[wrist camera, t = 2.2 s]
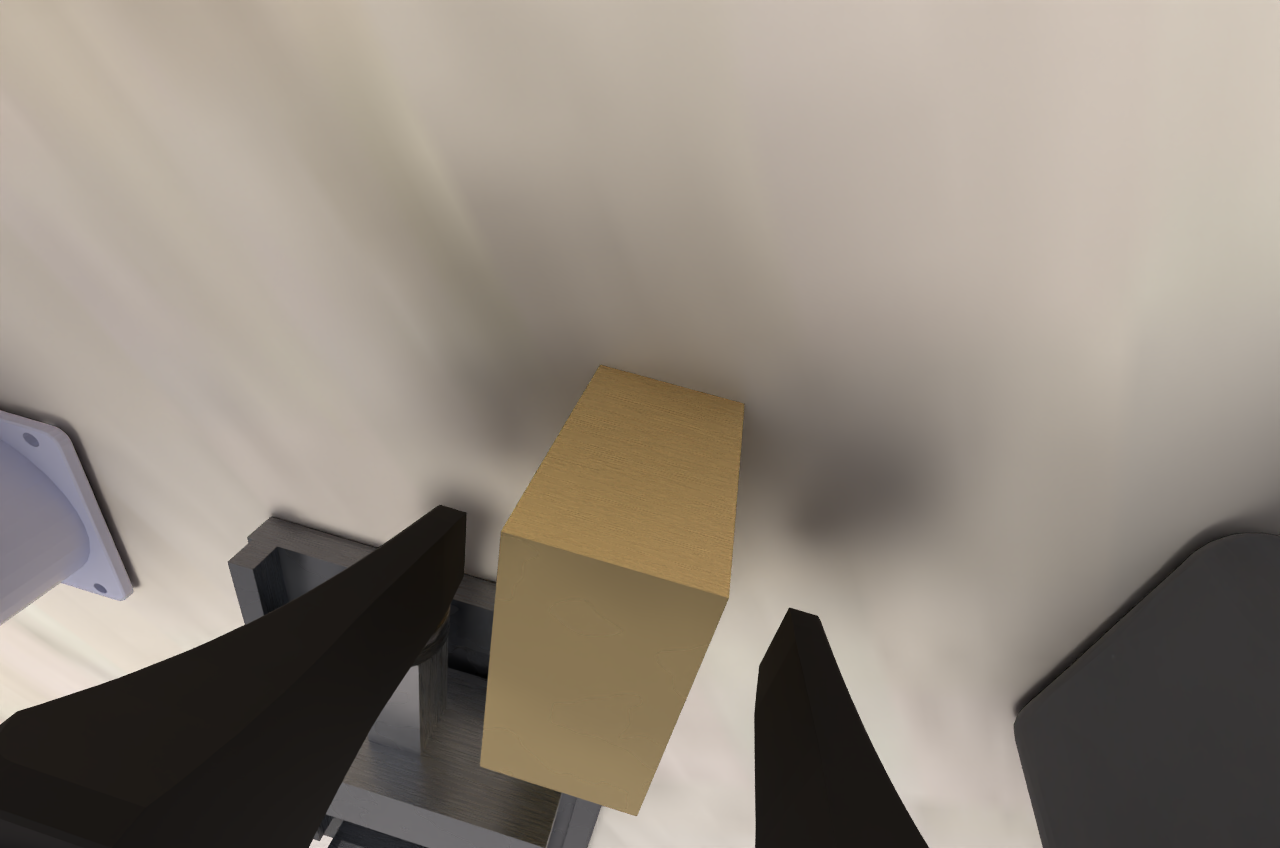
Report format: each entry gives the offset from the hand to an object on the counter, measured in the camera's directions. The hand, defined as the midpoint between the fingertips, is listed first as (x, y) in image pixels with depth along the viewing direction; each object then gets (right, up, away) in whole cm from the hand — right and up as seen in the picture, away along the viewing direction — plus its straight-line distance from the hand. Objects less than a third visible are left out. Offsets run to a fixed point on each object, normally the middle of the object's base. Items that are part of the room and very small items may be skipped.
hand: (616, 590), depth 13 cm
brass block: (+1, +2, +3) cm, 3 cm away
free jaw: (-6, -3, +6) cm, 9 cm away
